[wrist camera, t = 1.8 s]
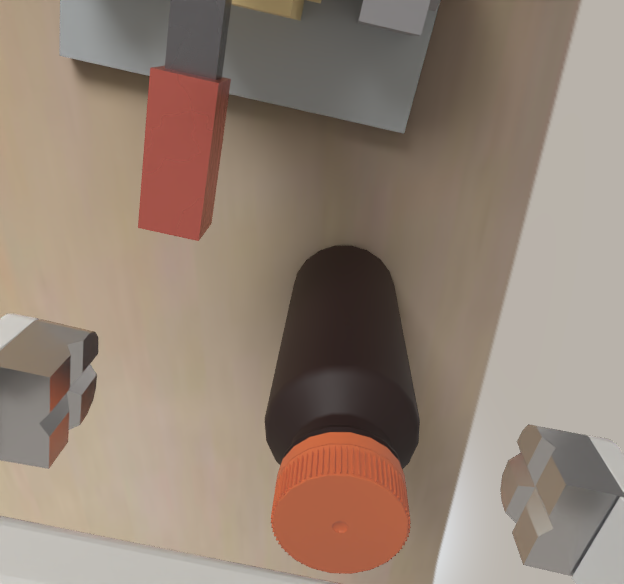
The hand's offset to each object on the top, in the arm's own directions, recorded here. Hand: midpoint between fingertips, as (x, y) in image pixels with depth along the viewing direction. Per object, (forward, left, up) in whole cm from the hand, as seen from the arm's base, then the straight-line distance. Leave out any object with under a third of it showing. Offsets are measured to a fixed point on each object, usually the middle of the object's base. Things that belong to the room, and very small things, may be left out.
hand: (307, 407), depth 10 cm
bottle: (+9, +3, -26) cm, 28 cm away
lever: (-5, -6, -16) cm, 18 cm away
